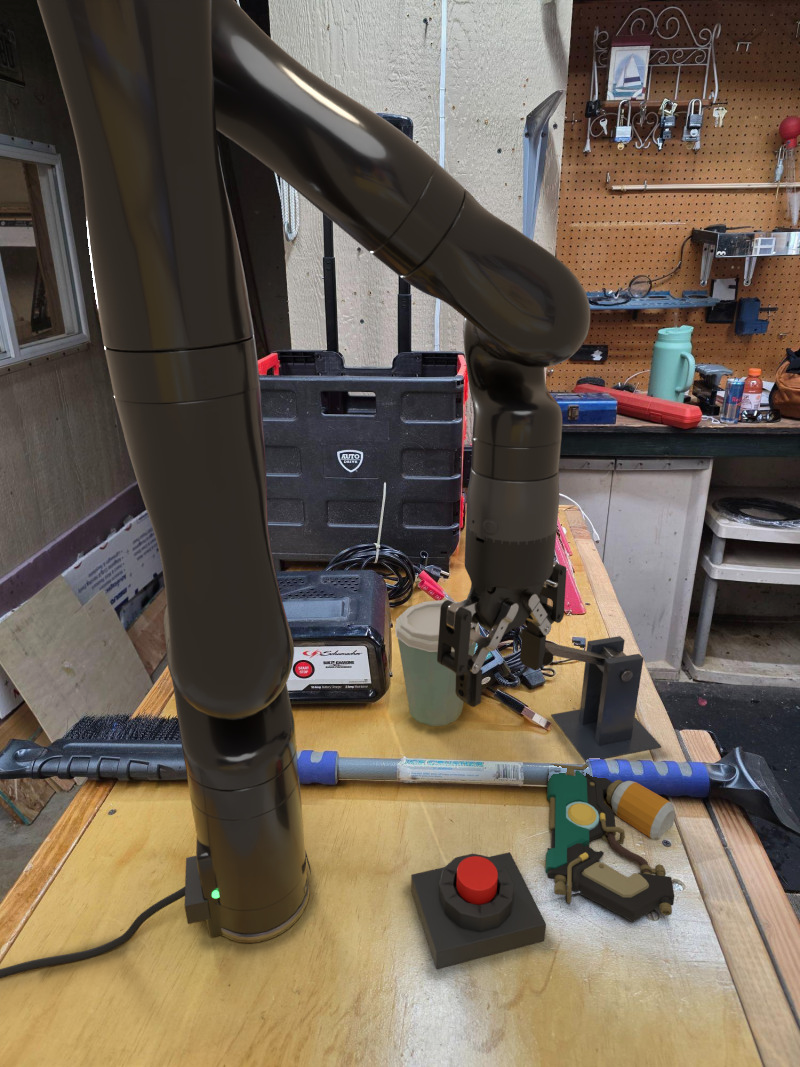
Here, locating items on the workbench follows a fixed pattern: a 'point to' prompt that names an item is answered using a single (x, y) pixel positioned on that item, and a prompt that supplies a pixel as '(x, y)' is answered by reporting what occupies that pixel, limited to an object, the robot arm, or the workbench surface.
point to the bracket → (608, 707)
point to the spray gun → (588, 818)
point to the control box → (475, 914)
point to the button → (477, 880)
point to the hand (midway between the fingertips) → (500, 683)
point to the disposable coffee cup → (427, 666)
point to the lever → (578, 654)
